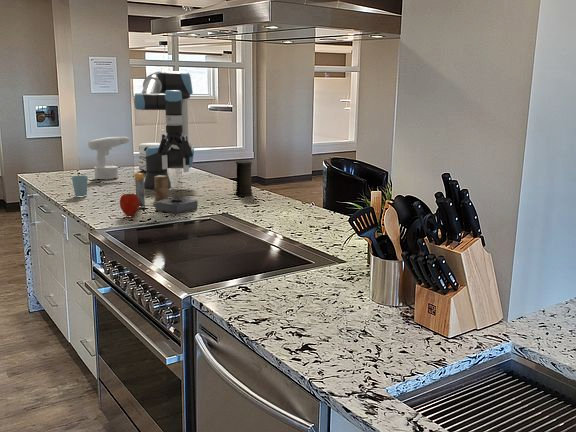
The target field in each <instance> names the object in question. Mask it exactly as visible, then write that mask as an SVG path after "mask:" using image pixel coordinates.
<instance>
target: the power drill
mask: <svg viewBox="0 0 576 432" xmlns="http://www.w3.org/2000/svg"><path fill="white" fill-rule="evenodd" d="M129 142H130V138H129V137H128V136H109V137H108V136H107V137H101V138H96V139H92V140H89V141H88V144H87V146H88V149H90V150H91V151H96V152H97V153H96V162H97V166H93V171H94V178H95V180H97V179H106V180H115V179H114V178H117V179H118V177H119V175H118V173H119V171H118V170H119V169H118V168H119V167H118V166H116V165H107V164H106V163H107V161H106V157H107V156H109V154H110V153H109V152H110V151H111V150H112V148H116V147H119V146H121V145H125V144H128V143H129Z"/></svg>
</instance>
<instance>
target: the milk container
mask: <svg viewBox="0 0 576 432" xmlns="http://www.w3.org/2000/svg"><path fill="white" fill-rule="evenodd" d="M160 143H161V142H143V143H139V144H138V151H139V152H138V153H139V157H138V158H139V160H138V169H139V170H140V171H141V172H144V173H146V157H145V156H146V149H147V148H148V147H152V146H157V145H160Z"/></svg>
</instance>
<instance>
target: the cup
mask: <svg viewBox="0 0 576 432" xmlns="http://www.w3.org/2000/svg"><path fill="white" fill-rule="evenodd" d="M88 178H89V176H87V175H74V176H72V177H71V181H72V184H73V185H72V186H73V191H74V196H75V197H76V196H84V195H88Z"/></svg>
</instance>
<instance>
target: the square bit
mask: <svg viewBox="0 0 576 432" xmlns="http://www.w3.org/2000/svg"><path fill="white" fill-rule="evenodd" d="M168 176H169V175H168ZM168 176H165V175H158V176H155V177H154V184H155V189H154V200H155V199H156V200H155V201H160V200H165V199H169V198H170V197H169V192H170V191H169V188H168Z"/></svg>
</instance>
